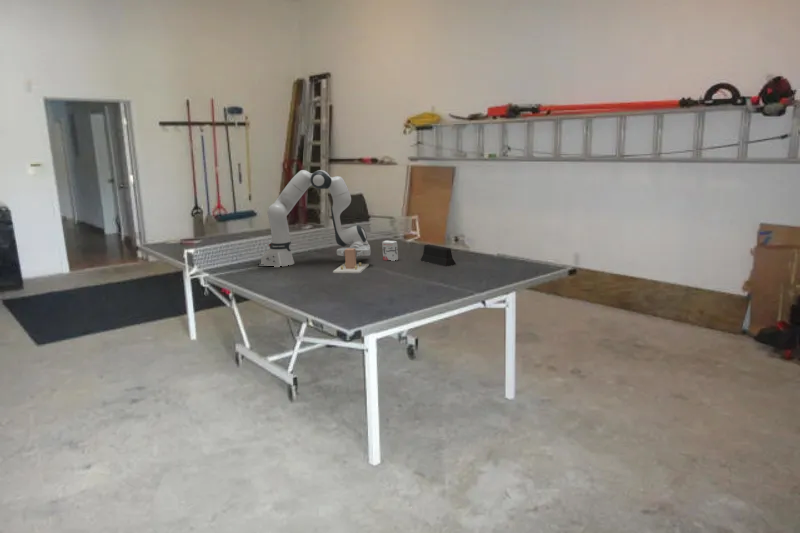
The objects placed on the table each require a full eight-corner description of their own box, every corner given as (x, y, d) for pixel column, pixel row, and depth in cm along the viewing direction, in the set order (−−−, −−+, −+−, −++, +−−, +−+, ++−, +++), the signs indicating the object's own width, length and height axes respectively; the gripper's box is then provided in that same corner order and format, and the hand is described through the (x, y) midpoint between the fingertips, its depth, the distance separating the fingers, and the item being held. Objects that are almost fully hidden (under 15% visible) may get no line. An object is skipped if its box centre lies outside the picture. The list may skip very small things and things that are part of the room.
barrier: (456, 264, 337) (456, 248, 335) (445, 267, 332) (445, 250, 330) (430, 259, 355) (430, 243, 353) (419, 261, 350) (419, 245, 348)
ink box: (382, 260, 356) (381, 241, 353) (386, 258, 360) (385, 240, 358) (394, 261, 352) (394, 242, 349) (398, 259, 356) (397, 241, 354)
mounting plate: (333, 273, 327) (332, 267, 326) (343, 265, 346) (343, 260, 345) (359, 273, 324) (359, 268, 323) (368, 265, 343) (368, 260, 342)
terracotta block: (345, 268, 333) (344, 250, 330) (348, 266, 337) (347, 248, 335) (354, 268, 332) (353, 250, 329) (356, 266, 336) (355, 248, 334)
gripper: (339, 244, 347) (332, 249, 334) (372, 244, 343) (366, 249, 330) (340, 254, 348) (333, 259, 335) (372, 254, 344) (367, 259, 331)
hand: (350, 254), depth 332 cm, fingers open, 8 cm apart
